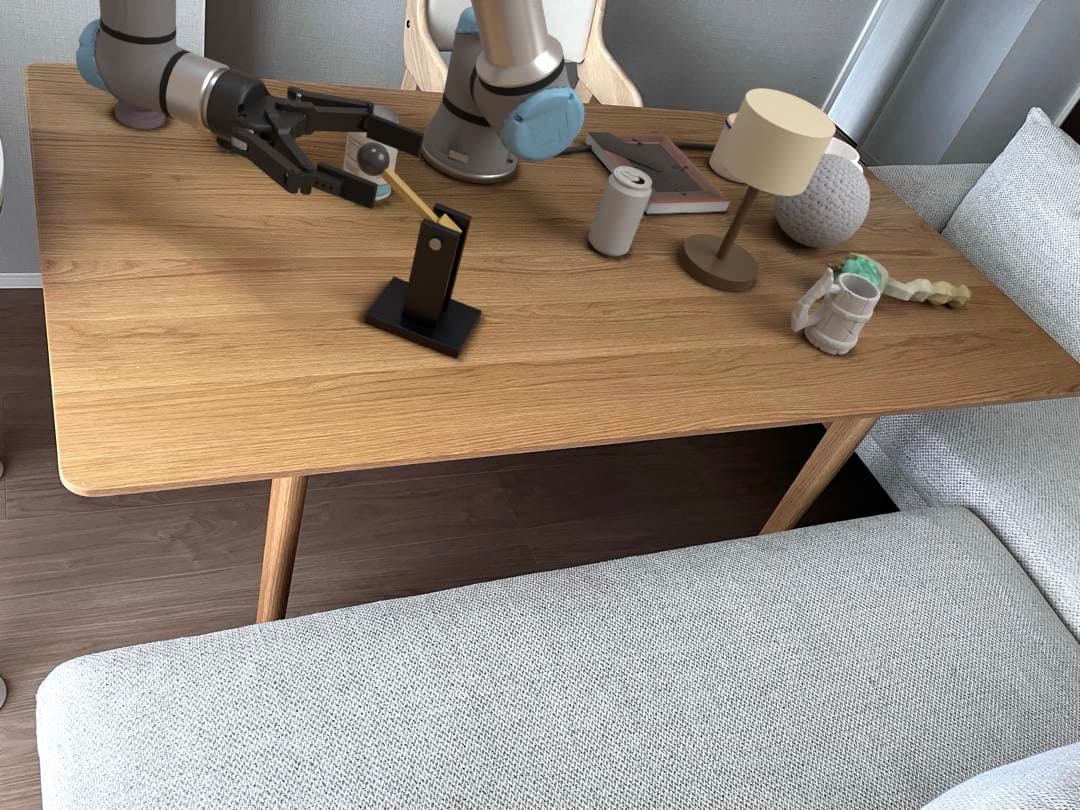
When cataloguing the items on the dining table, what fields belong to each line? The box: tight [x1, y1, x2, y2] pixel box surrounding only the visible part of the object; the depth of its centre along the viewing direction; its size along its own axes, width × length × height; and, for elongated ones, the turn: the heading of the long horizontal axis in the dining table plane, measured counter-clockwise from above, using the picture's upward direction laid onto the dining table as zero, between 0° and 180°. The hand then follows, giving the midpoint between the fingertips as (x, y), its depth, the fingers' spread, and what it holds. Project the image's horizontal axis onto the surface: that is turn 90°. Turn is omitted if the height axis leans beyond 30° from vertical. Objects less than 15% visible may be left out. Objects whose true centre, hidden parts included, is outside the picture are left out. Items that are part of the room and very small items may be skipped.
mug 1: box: [824, 136, 864, 174], centre depth 164 cm, size 11×9×10 cm
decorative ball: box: [773, 154, 871, 248], centre depth 150 cm, size 15×15×15 cm
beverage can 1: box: [342, 104, 399, 203], centre depth 125 cm, size 7×7×12 cm
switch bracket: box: [363, 202, 483, 359], centre depth 107 cm, size 12×9×15 cm
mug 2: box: [790, 266, 881, 356], centre depth 129 cm, size 8×12×12 cm, turn 102°
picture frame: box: [584, 131, 731, 215], centre depth 156 cm, size 16×2×22 cm
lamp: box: [679, 87, 837, 293], centre depth 132 cm, size 13×13×26 cm
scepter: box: [827, 252, 973, 308], centre depth 146 cm, size 9×8×30 cm
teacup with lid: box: [708, 112, 745, 184], centre depth 164 cm, size 12×9×12 cm
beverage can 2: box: [588, 166, 652, 257], centre depth 132 cm, size 6×6×12 cm
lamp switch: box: [356, 142, 462, 232], centre depth 102 cm, size 14×4×4 cm, turn 75°
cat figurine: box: [113, 97, 166, 130], centre depth 124 cm, size 8×8×12 cm
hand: (399, 170), depth 100 cm, fingers open, 13 cm apart
